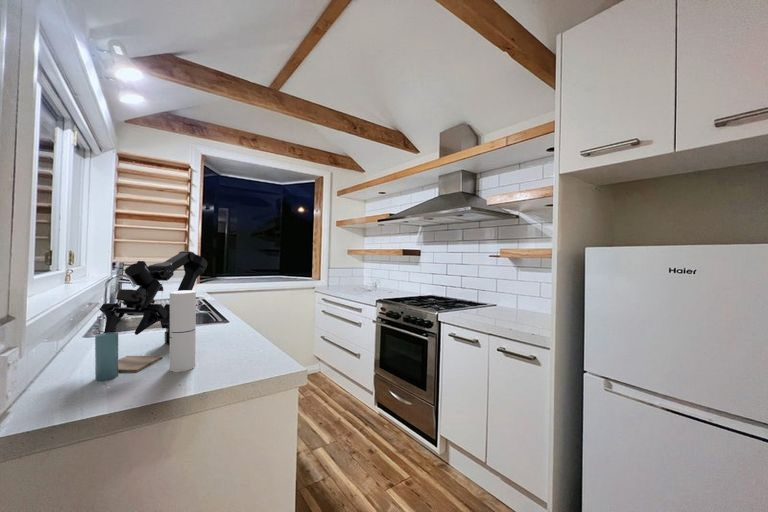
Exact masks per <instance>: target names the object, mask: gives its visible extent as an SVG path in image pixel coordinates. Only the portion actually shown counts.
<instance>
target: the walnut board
mask: <svg viewBox="0 0 768 512" xmlns="http://www.w3.org/2000/svg"><path fill="white" fill-rule="evenodd" d="M162 359H163V355H126V356H124V357H121V358H120V359H119V358H118V373H138V371H139V372H140V371H143V370H144V369H146V368H148V367H150V366H152V365H153V364H154V362H155V363H157V362H159V361H160V360H162ZM158 360H159V361H158ZM156 361H157V362H156ZM147 366H148V367H147Z"/></svg>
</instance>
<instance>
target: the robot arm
mask: <svg viewBox="0 0 768 512" xmlns="http://www.w3.org/2000/svg"><path fill="white" fill-rule="evenodd" d="M181 267H183V270H184V275H183V278H182V279H181V282H180V284H179V286H178V288H177V291H183V290H192V291H193V288H194V287H195V285H196V282H197V279H198V278H199V277H200V276H201V275H203V274H204V273H205V271H206V269H207V267H208V261H207V259H205V258H204V257H203V256H201V255H198V254H196V253H195V252H194V251H191V250H190V251H189V250H188V251H187V250H185V251H184V250H183V251H179V252H178V253H177V254H175V255H174V256H172V257H170V258H169V259H167V260H165V261H162V262H158V263H153V264H150V265H147V263H146V262H145V260H138V261H137V262H135V263H132V264H131V265H129V266H127V267H126V268H125V270H124V273H125V275H126V276H127V277H128V278H129V280H130V281H131V282H132V283H133V284H134V285H135V286H137V289H129V288H128V289H125V288H123V289H121V288H120V289H118V292H117V295H116V298H115V300H117V301H118V300H119V301H121V302H122V304H123V306H125V307H122V306H121V305H119V304H118V303H117V302H112V303H111V302H106V303H102V305H101V306H100V308H98V309H99V311H100V312H101V313H103V314H104V315H105V316H106V319H105V320H106V321H105V326H104V332H103V333H108V332H113V331H112V330H113V329H115V327H117V325H118V324H119V323H121V321H122V319H121V318H123V317H124V316H125V314H132V315H142V318H141V320H140V322H139V323H138V325H137V327H136V329H135V331H134V335H136V336H138V335H139V334H141V333H142V332H143V331H145V330H147V329H148V328H149V327H151V326H153V325H154V324H156V323H158V322H160V325H161V329H166V330H165V332H164V343H165V344H167V345H168V346H170V303H166V304H165V305H164V306H163V304H161V303H155V302H156V300H155V297H156V295H157V294H158V292H164V287H163V283H161V281H163V282H166V281H169V280H170V279H171V278H172V277H173V276H174V273H175V271H177V270H178V269H180V268H181Z"/></svg>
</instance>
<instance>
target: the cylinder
mask: <svg viewBox="0 0 768 512" xmlns="http://www.w3.org/2000/svg"><path fill="white" fill-rule="evenodd" d="M94 338H95V339H94V342H95V343H94V344H95V345H94V346H95V347H94V349H95V352H94V354H95V356H94V357H95V359H94V360H95V361H94V362H95V365H94V367H95V369H94V370H95V373H94V374H95V377H94V378H95V379H94V380H95V381H97V382H105V381H110V380H114V379H116V378H117V377H119V372H118V360H119V332H116V331H111V332H108V333H104V332H102V333H98V334H95V337H94Z"/></svg>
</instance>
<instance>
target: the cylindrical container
mask: <svg viewBox="0 0 768 512" xmlns="http://www.w3.org/2000/svg"><path fill="white" fill-rule="evenodd" d="M196 294H197V291H196V290H193V289H192V290H183V291H178V290H174V291H170V292H169V304H170V345H169V371H170V372H171V371H173V373H180V371H183V372H187V371H186V370H188V371H190V370H189V369H191V370H192V368H193V369H195V367H196V337H197V335H196V332H197V330H196V328H197V327H196V319H197V318H196V315H197V314H196V311H197V310H196V309H197V307H196V305H197V304H196V297H197V295H196Z"/></svg>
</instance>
